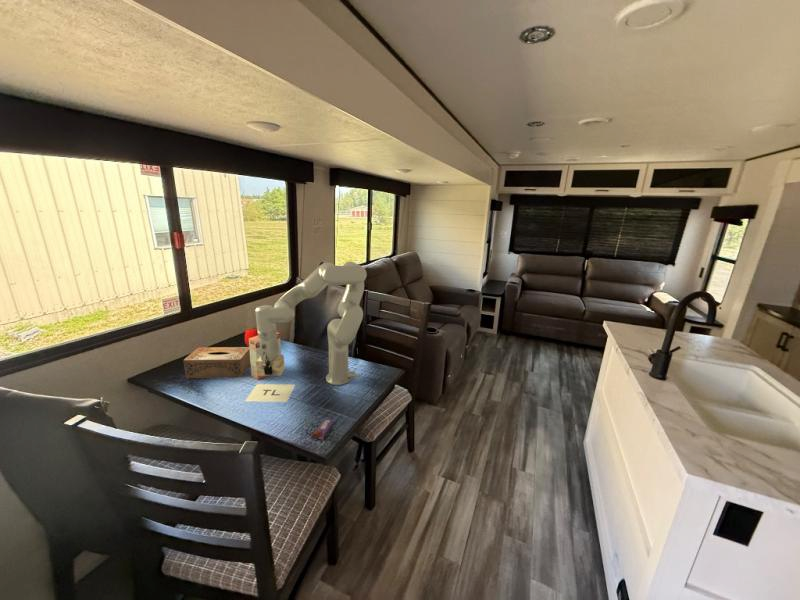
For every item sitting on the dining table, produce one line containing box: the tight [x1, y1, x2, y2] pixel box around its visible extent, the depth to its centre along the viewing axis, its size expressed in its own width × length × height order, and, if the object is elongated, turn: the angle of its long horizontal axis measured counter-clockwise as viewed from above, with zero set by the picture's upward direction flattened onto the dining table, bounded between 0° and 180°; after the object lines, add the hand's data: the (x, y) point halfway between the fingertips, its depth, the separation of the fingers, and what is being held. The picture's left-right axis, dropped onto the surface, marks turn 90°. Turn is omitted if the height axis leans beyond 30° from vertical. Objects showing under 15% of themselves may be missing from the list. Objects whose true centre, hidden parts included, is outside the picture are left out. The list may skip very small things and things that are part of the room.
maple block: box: [256, 354, 286, 377], centre depth 136 cm, size 10×6×7 cm, turn 94°
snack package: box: [310, 417, 337, 441], centre depth 118 cm, size 12×2×5 cm
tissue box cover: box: [183, 346, 251, 379], centre depth 155 cm, size 26×14×10 cm, turn 97°
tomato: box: [244, 326, 258, 347], centre depth 182 cm, size 12×12×13 cm
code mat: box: [244, 383, 296, 403], centre depth 140 cm, size 18×14×1 cm
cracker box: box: [249, 331, 282, 380], centre depth 154 cm, size 14×6×21 cm, turn 148°
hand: (271, 370), depth 137 cm, fingers closed on maple block, 6 cm apart
